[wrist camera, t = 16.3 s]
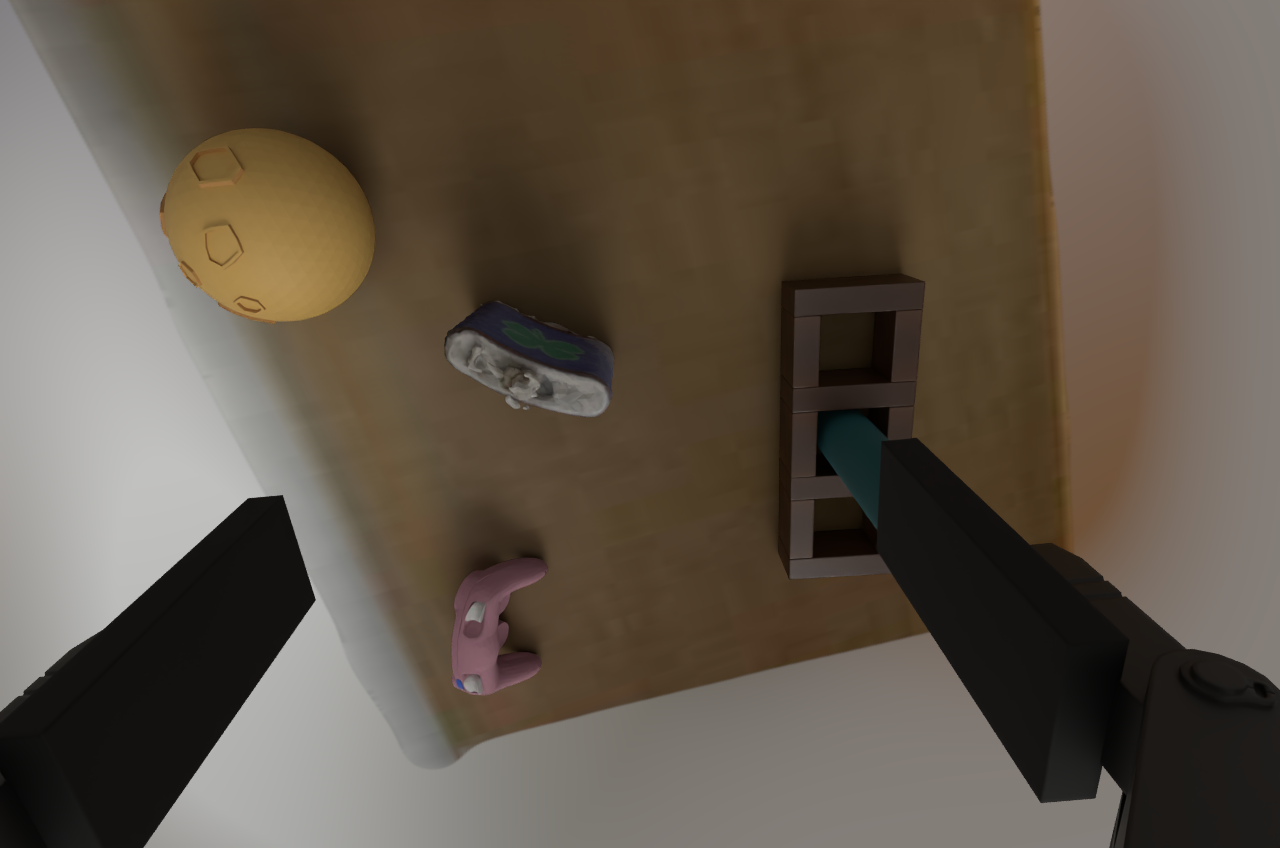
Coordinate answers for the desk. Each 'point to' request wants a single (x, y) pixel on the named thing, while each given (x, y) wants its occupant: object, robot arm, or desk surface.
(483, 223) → the desk surface
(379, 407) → the desk surface
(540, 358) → the flask
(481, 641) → the video game controller
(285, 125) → the desk surface
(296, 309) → the stress ball
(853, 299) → the pen block
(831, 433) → the dowel
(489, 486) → the desk surface
